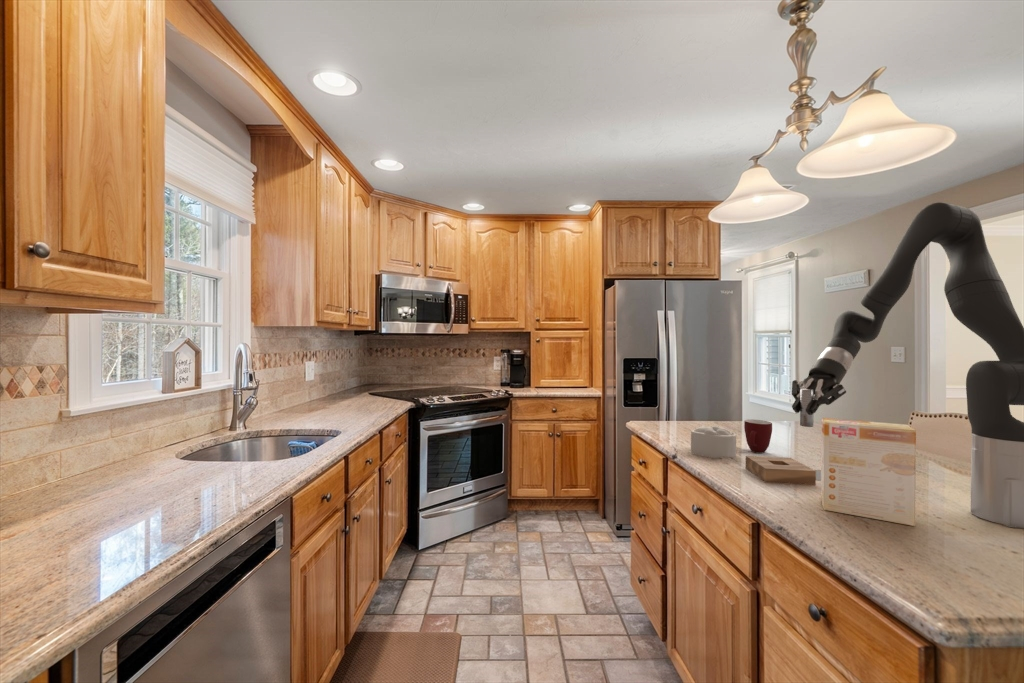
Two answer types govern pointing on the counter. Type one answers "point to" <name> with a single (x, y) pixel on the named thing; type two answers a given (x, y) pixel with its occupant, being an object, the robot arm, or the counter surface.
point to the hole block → (780, 470)
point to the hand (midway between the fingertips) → (801, 411)
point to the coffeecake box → (869, 469)
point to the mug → (758, 434)
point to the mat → (818, 475)
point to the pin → (805, 399)
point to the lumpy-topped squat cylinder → (713, 442)
